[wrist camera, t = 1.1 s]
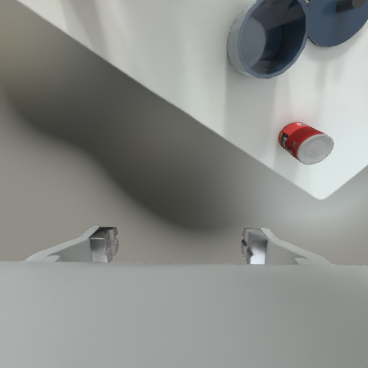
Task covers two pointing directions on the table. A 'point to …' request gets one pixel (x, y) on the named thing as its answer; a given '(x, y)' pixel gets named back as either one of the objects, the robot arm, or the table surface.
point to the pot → (268, 37)
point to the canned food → (305, 143)
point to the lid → (336, 20)
